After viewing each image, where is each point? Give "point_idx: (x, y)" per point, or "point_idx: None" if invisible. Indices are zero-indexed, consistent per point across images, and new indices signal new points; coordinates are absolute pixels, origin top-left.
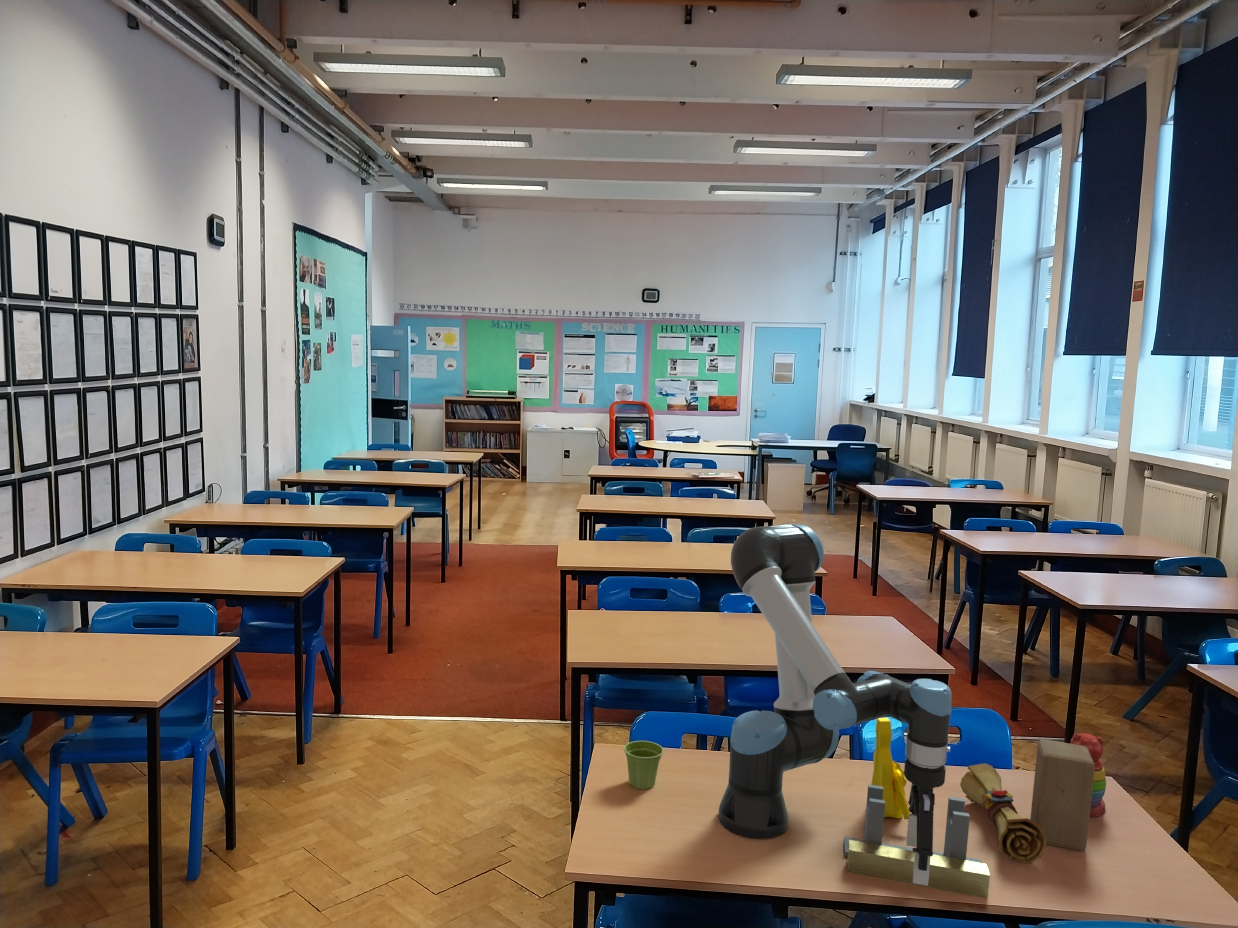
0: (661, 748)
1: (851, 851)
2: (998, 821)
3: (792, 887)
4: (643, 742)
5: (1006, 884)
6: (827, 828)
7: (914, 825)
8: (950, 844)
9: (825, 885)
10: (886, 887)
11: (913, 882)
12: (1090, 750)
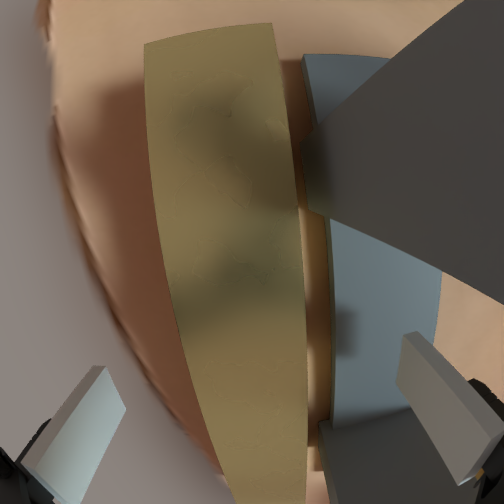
0: None
1: (146, 58)
2: (480, 475)
3: (53, 8)
4: None
5: (321, 490)
6: None
7: (448, 423)
8: (347, 498)
9: (74, 58)
10: (139, 249)
11: (94, 367)
12: None
